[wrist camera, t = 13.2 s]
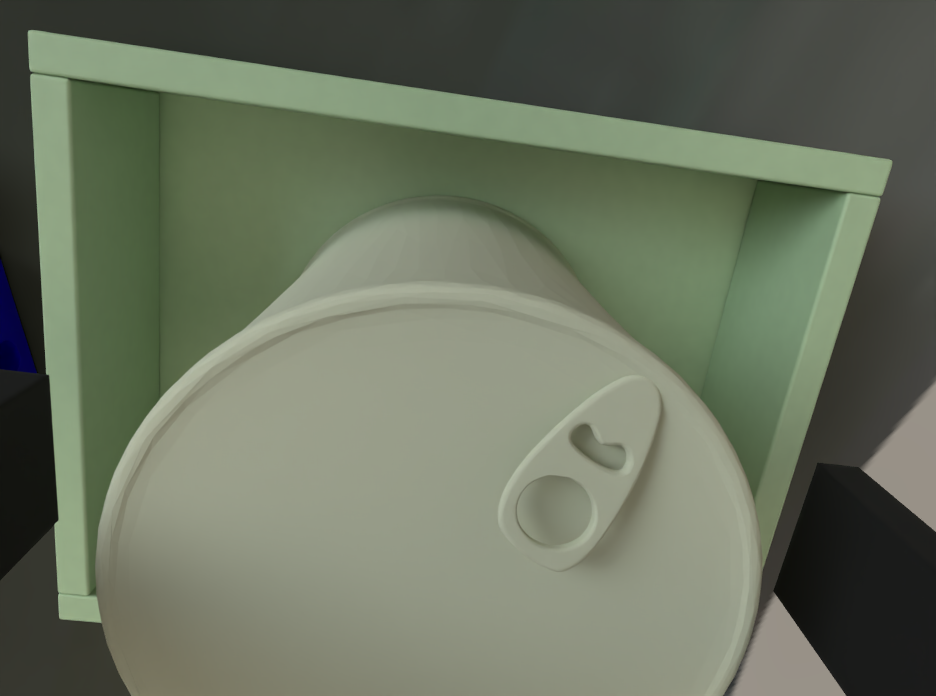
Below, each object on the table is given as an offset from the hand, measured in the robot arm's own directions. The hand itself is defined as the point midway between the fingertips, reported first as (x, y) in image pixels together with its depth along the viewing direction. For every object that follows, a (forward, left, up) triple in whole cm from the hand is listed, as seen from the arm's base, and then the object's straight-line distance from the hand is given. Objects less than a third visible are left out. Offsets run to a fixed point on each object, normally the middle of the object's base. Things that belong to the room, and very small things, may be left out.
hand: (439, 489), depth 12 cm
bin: (0, 0, -10) cm, 10 cm away
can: (0, 0, -9) cm, 9 cm away
